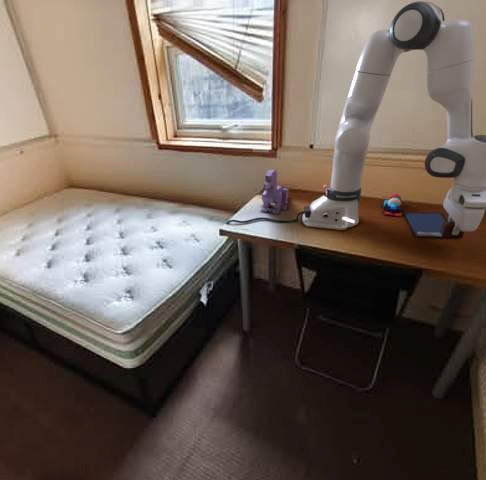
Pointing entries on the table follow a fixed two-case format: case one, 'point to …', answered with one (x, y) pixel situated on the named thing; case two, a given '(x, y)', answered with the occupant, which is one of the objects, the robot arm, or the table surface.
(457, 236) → the letter opener
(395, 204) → the toy figure
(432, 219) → the desk mat
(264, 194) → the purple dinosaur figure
